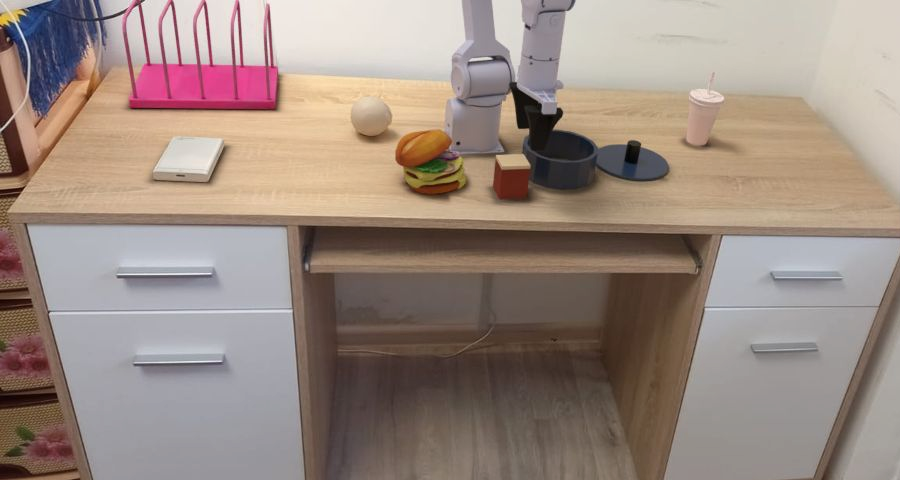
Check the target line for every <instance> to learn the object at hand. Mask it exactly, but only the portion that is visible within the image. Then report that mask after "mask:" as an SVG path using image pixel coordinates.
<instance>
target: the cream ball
mask: <svg viewBox="0 0 900 480" xmlns="http://www.w3.org/2000/svg"><path fill="white" fill-rule="evenodd" d="M350 122H351V124H352V127H353V129H354V130H355V131H357V132H358V133H359V134H361V135H364V136H368V137H374V136H378V135H381V134H382V133H383V132H385V130H387V128H388V127H390V125H391V124H392V122H393V113H392V110H391V108H390V107H389V105H388V104H387V103H386V102H385V101H384V100H382V99H381V98H379V97H375V96H370V95H369V96H363V97H360V98H358V99H357V100H356V101H355V102H354V103H353V105H352V107H351V109H350Z"/></svg>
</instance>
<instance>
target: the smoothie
mask: <svg viewBox="0 0 900 480" xmlns="http://www.w3.org/2000/svg"><path fill="white" fill-rule="evenodd" d="M715 73H716V71H714V70H713V71H711V74H710V78H709V81H708V86H707V88H695V89H692V90H690V92H689V95H688V99H689V107H688V117H687V126H686V135H685V136H686V137H685V141H686V142H687V143H689V144H690V145H693V146H705V145H706V144H707V143H708V140H709V138H710V135H711V132H712V129H713V127H714V124H715V122H716V120H717V117H718V114H719V112H720V109H721V107H722V106H724V104H725V96H724V95H723V94H721V93H720V92H717V91H716V90H712V86H713V81H714V77H715V75H716V74H715Z"/></svg>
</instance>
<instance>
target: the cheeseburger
mask: <svg viewBox="0 0 900 480" xmlns="http://www.w3.org/2000/svg"><path fill="white" fill-rule="evenodd" d="M451 144H452V140H451V138H450V137H449V136H448V135H447V134H446V133H445V132H444V131H443V130H442V129H439V128H438V129H429V130H427V129H426V130H418V131H414V132H409V133H406V134H404V135H403V136H402V137H401V138H400V139H399V141H398V142H397V144H396V148H395V152H394V153H395V154H394V156H395V157H394V160H395V162H396V164H397V165H399V166H401V167H402V170H403V177H404V180H405V182H407V184H408V186H409V187H410V188H411V189H412V190H414V191H416V192H417V193H421V194H427V195H435V194H442V193H443V194H444V193H448V192H451V191H454V190H460V189H462V188H463V187H464V185H465V184H466V182H467V174H466V173H465V168H464V164H465V162H464V159H463V158H462V156H460V154H458V153H456V152H453V151H450V150H449V147H450V145H451Z"/></svg>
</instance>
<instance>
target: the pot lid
mask: <svg viewBox="0 0 900 480" xmlns="http://www.w3.org/2000/svg"><path fill="white" fill-rule="evenodd" d="M595 167H597V168H598V169H599V170H600V171H602V172H604V173H605V174H608V175H610V176H613V177H616V178H618V179H622V180H628V181H633V182H634V181H635V182H650V181H655V180H659V179H661V178H663V177H665V176H666V175H667V174H668V171H669V163H668V161H667V160H666V158H665V157H663V156H662V155H661V154H659V153H657V152H656V151H653V150H651V149H648V148H647V147H642V143H641V142H640V141H638V140H635V139H631V140H627V144H623V143H621V144H619V143H617V144H614V143H613V144H607V145H604V146H600V147H598V155H597V161H596V166H595Z"/></svg>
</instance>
